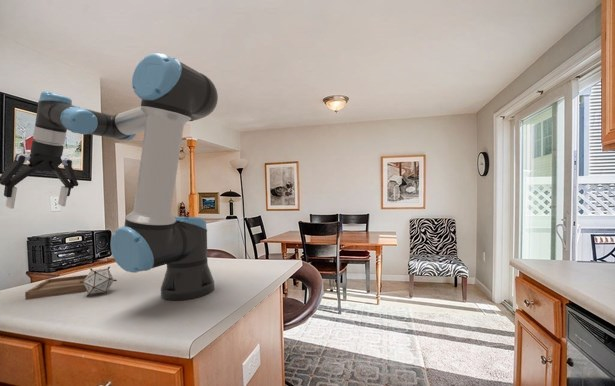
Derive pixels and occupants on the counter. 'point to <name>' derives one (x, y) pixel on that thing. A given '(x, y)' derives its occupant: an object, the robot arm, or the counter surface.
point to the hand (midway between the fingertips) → (37, 206)
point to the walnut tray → (57, 287)
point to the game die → (98, 281)
